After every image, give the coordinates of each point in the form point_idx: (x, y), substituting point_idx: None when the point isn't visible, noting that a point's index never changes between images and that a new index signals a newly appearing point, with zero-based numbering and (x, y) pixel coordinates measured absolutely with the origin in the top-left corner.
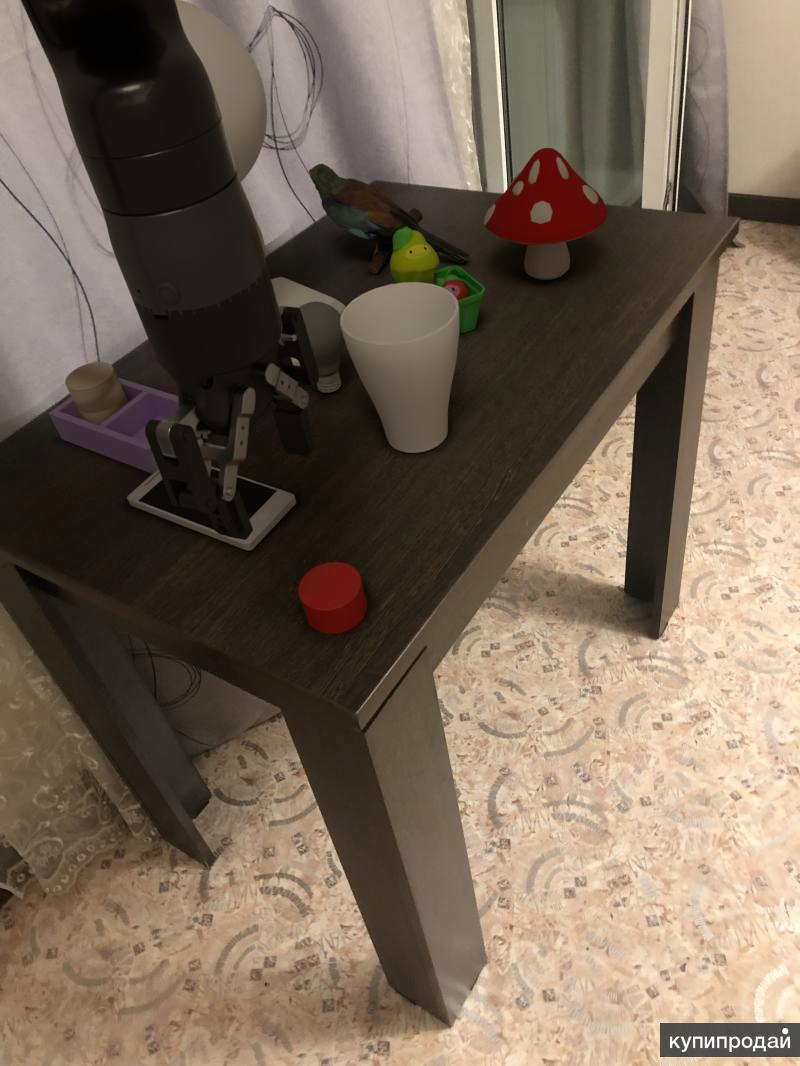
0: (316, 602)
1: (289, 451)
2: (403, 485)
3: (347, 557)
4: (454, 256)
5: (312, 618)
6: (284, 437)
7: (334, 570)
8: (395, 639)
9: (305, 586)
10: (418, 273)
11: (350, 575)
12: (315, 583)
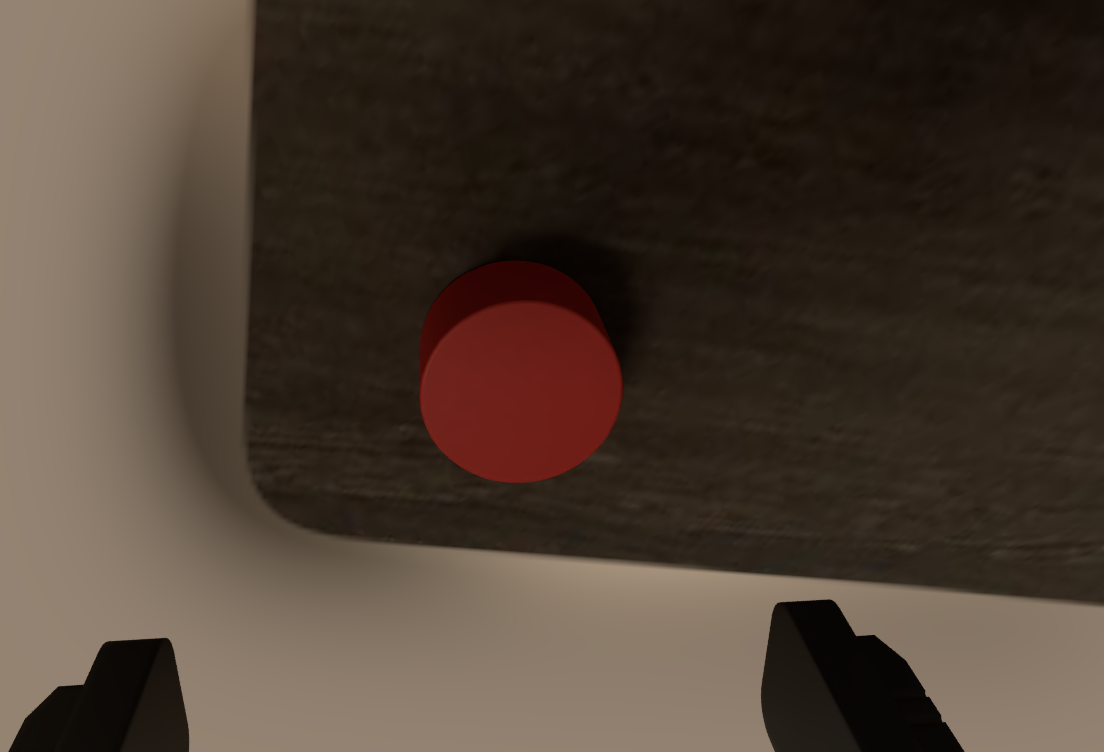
0: (445, 392)
1: (778, 620)
2: (1046, 303)
3: (716, 279)
4: None
5: (421, 354)
6: (810, 687)
7: (583, 382)
8: (471, 525)
9: (493, 330)
10: None
11: (578, 435)
12: (515, 353)
